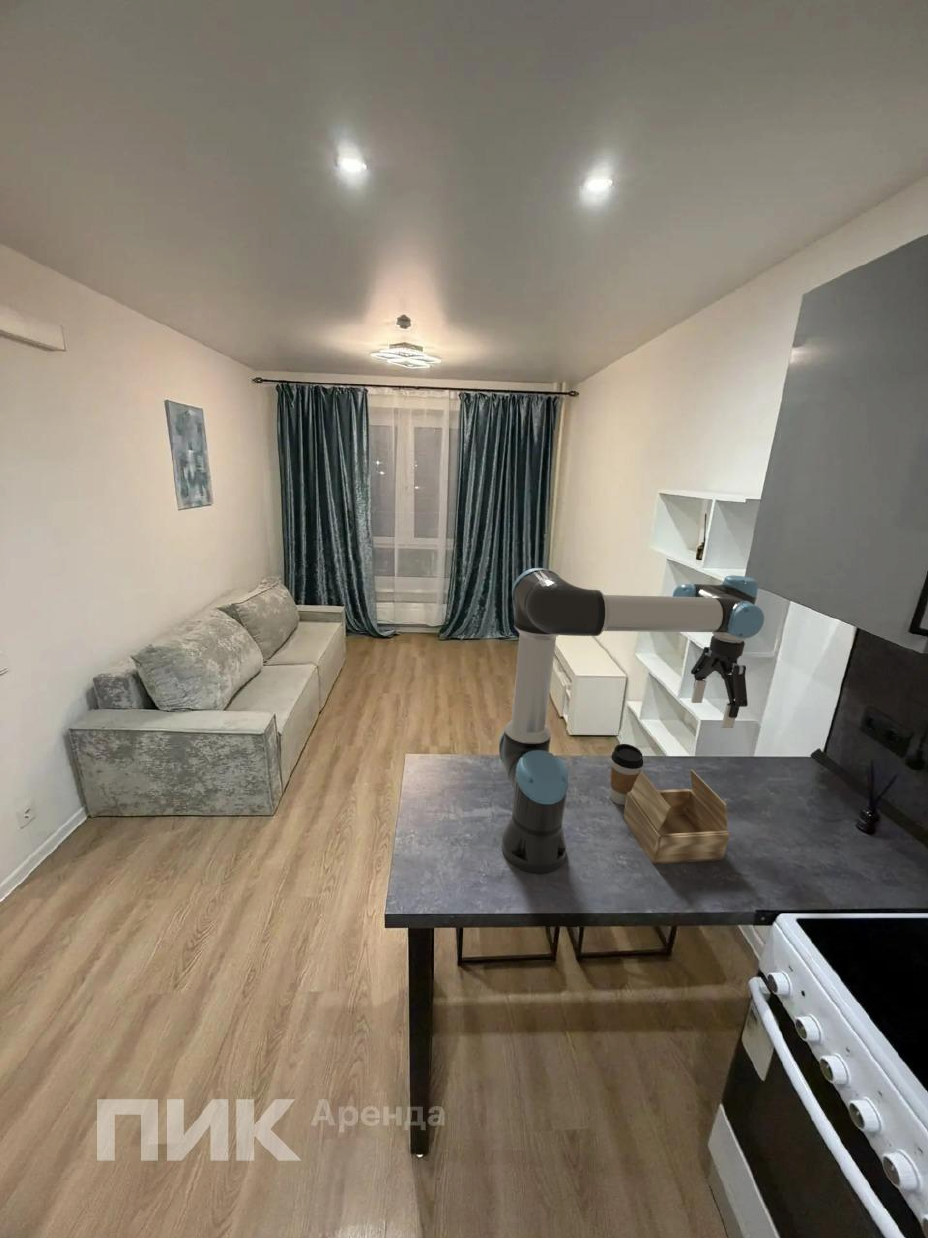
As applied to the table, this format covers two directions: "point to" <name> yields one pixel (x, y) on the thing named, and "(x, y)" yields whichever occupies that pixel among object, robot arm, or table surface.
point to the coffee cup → (624, 771)
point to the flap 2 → (709, 798)
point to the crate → (678, 830)
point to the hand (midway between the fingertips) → (710, 714)
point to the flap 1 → (650, 800)
